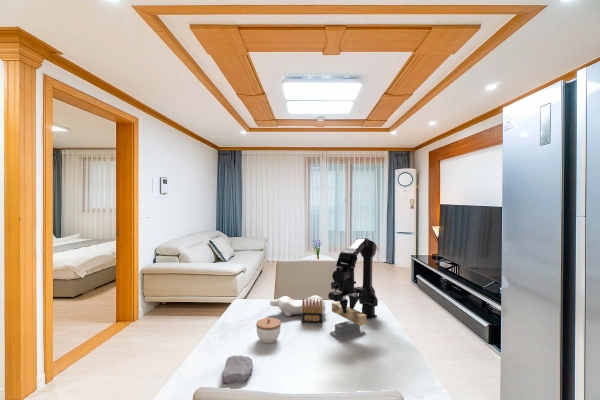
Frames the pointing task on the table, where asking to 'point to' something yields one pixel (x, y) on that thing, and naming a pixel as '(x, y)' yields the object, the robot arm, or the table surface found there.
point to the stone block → (237, 369)
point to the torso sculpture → (294, 304)
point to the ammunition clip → (312, 312)
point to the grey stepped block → (346, 330)
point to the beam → (349, 314)
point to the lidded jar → (268, 329)
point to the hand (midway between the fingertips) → (347, 312)
